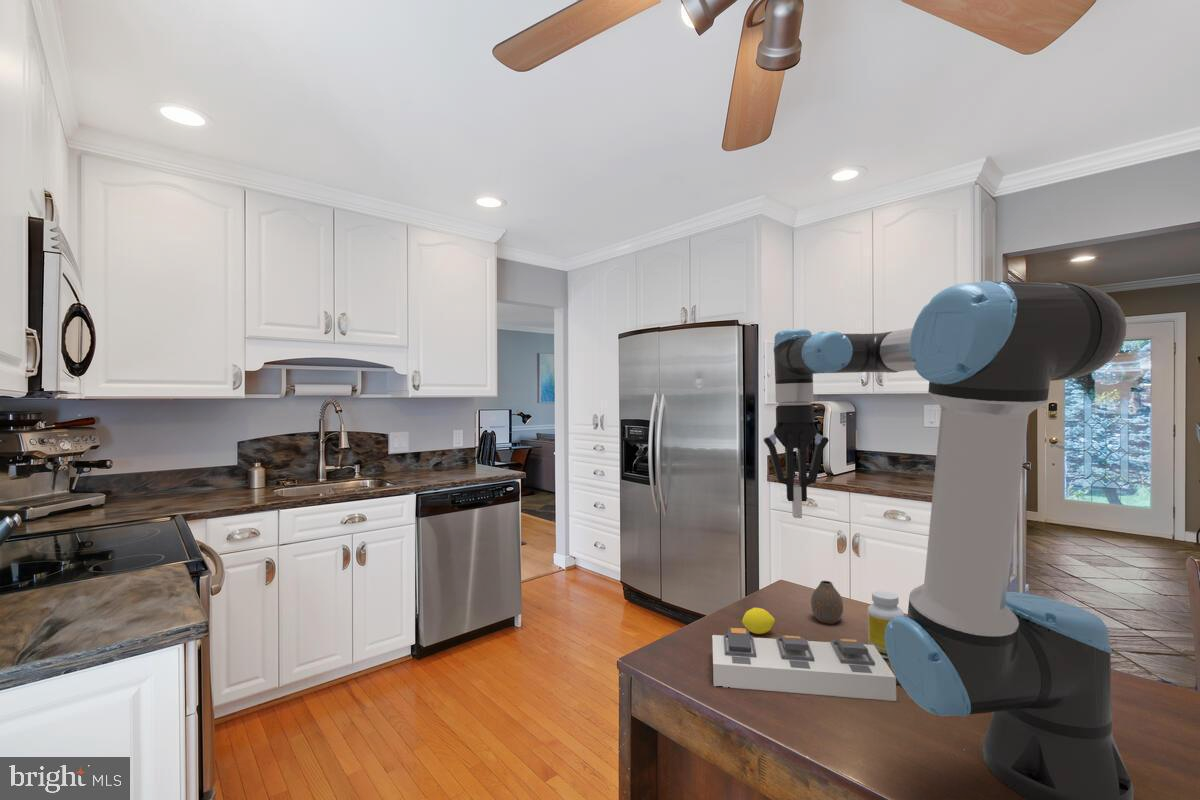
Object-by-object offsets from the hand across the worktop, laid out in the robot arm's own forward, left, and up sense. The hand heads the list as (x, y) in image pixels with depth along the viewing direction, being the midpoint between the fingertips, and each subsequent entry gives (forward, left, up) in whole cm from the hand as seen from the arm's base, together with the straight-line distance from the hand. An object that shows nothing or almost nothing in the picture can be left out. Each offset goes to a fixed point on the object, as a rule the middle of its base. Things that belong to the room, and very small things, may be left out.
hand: (797, 516), depth 111 cm
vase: (+13, -8, -27) cm, 31 cm away
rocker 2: (-13, -7, -21) cm, 26 cm away
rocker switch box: (-14, -2, -26) cm, 30 cm away
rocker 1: (-13, +13, -21) cm, 28 cm away
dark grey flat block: (-13, +3, -21) cm, 25 cm away
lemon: (+4, +8, -27) cm, 28 cm away
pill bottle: (-2, -16, -27) cm, 31 cm away
